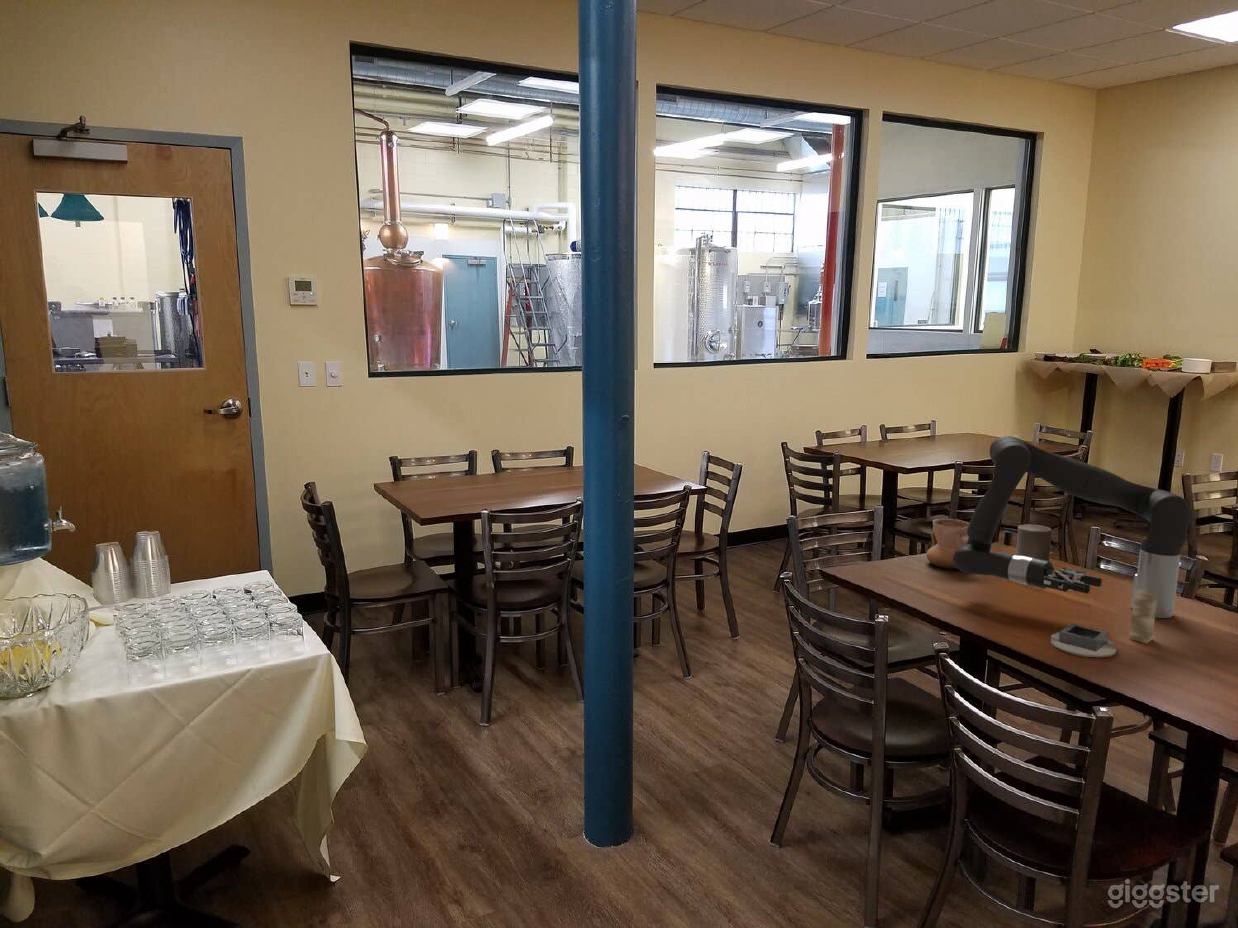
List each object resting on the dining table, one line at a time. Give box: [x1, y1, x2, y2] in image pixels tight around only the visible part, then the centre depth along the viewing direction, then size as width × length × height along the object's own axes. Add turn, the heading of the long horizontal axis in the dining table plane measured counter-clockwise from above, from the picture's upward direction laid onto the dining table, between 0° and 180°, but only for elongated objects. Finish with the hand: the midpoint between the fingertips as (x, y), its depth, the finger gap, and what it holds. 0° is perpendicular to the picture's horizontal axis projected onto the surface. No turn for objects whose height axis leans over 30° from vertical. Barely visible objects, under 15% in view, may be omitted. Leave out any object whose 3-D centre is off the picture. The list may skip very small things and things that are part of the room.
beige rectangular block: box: [1129, 589, 1158, 644], centre depth 214 cm, size 4×4×12 cm
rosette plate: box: [1050, 623, 1117, 659], centre depth 209 cm, size 14×14×4 cm
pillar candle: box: [1015, 523, 1053, 561], centre depth 271 cm, size 10×10×15 cm
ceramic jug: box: [925, 518, 970, 570], centre depth 275 cm, size 18×14×14 cm
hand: (1095, 586), depth 221 cm, fingers open, 8 cm apart
